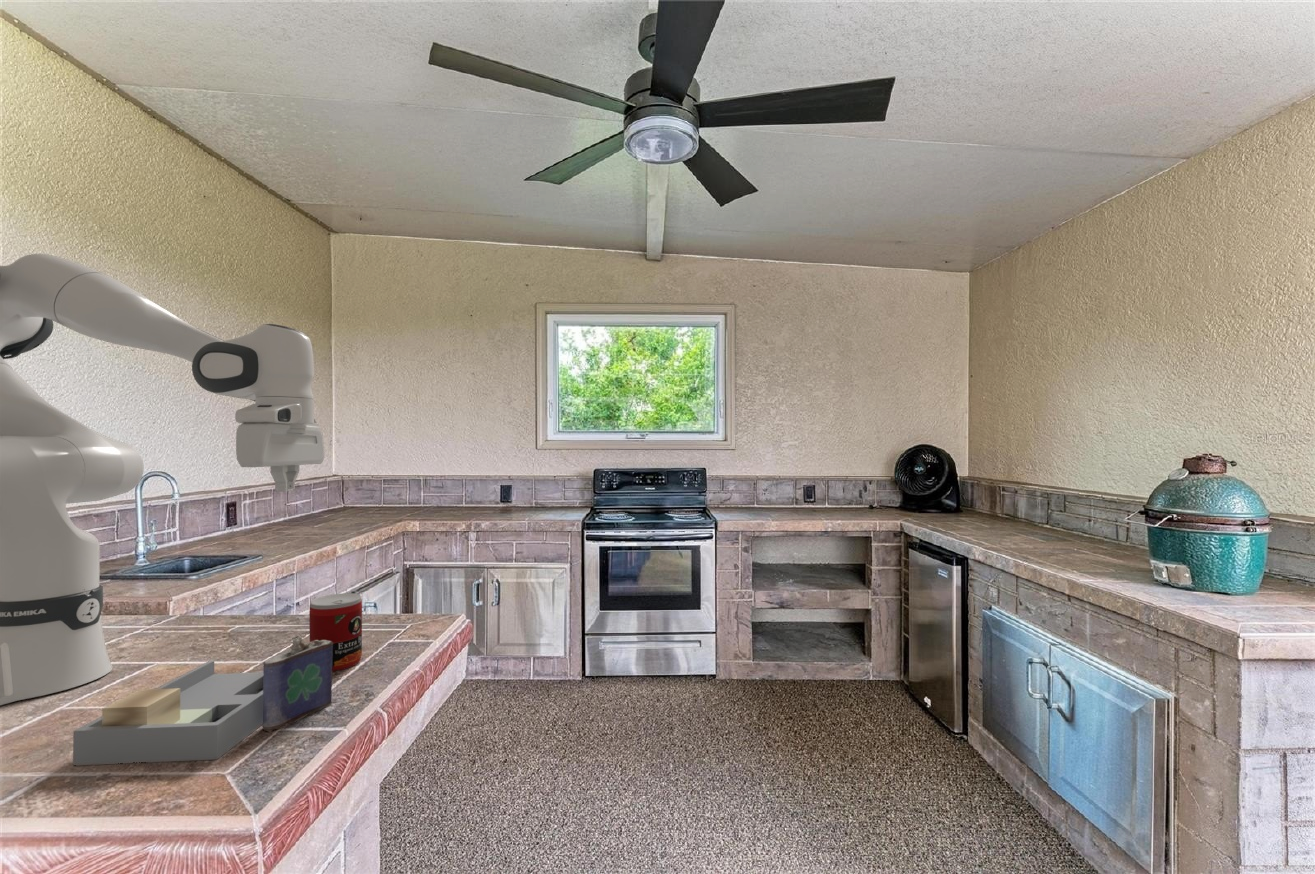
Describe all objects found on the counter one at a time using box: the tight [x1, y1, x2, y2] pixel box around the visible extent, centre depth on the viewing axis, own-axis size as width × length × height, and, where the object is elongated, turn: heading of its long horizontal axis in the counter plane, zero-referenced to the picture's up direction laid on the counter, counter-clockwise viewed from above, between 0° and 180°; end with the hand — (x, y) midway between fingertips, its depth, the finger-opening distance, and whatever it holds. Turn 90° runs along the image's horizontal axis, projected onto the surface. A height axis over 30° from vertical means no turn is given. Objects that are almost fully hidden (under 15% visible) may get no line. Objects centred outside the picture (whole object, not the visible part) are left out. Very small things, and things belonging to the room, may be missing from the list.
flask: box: [261, 635, 333, 733], centre depth 76 cm, size 9×3×11 cm, turn 157°
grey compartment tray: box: [72, 660, 264, 767], centre depth 75 cm, size 16×21×4 cm
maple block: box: [101, 688, 180, 727], centre depth 68 cm, size 5×5×4 cm
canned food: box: [308, 592, 363, 672], centre depth 94 cm, size 8×8×11 cm
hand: (285, 491), depth 99 cm, fingers closed
